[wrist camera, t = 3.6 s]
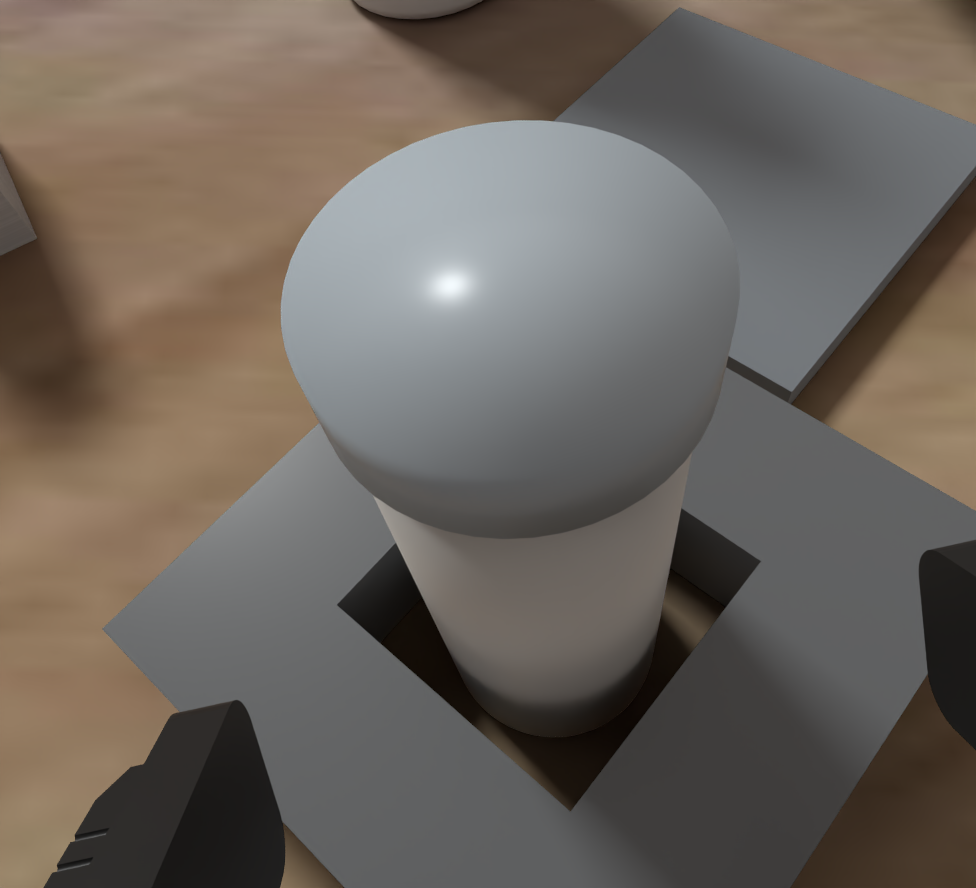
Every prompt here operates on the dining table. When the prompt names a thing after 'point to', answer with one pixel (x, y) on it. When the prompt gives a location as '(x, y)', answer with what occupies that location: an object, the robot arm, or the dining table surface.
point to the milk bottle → (415, 7)
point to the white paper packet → (12, 215)
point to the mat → (788, 178)
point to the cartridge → (522, 392)
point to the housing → (658, 735)
